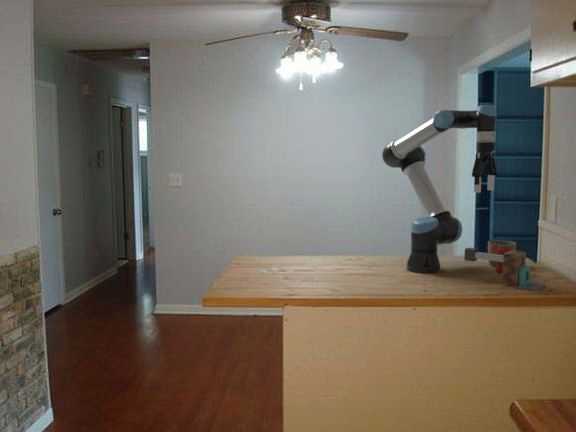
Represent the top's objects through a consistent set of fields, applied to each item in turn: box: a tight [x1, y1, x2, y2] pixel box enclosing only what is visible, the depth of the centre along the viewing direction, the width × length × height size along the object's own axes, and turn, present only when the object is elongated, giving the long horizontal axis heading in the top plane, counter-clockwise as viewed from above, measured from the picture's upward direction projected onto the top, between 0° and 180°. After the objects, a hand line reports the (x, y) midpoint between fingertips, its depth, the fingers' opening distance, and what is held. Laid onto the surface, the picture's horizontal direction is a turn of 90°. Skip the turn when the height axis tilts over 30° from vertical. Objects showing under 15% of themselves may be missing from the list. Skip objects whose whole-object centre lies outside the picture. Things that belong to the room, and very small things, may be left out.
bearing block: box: [501, 250, 527, 288], centre depth 241 cm, size 6×9×13 cm, turn 140°
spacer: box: [519, 265, 531, 286], centre depth 239 cm, size 2×7×7 cm, turn 140°
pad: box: [516, 281, 547, 292], centre depth 238 cm, size 8×12×1 cm, turn 140°
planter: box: [487, 239, 517, 267], centre depth 277 cm, size 12×12×11 cm
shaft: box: [463, 247, 522, 263], centre depth 247 cm, size 23×4×5 cm, turn 50°
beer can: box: [495, 244, 512, 274], centre depth 263 cm, size 7×7×12 cm
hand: (484, 191), depth 254 cm, fingers open, 13 cm apart
